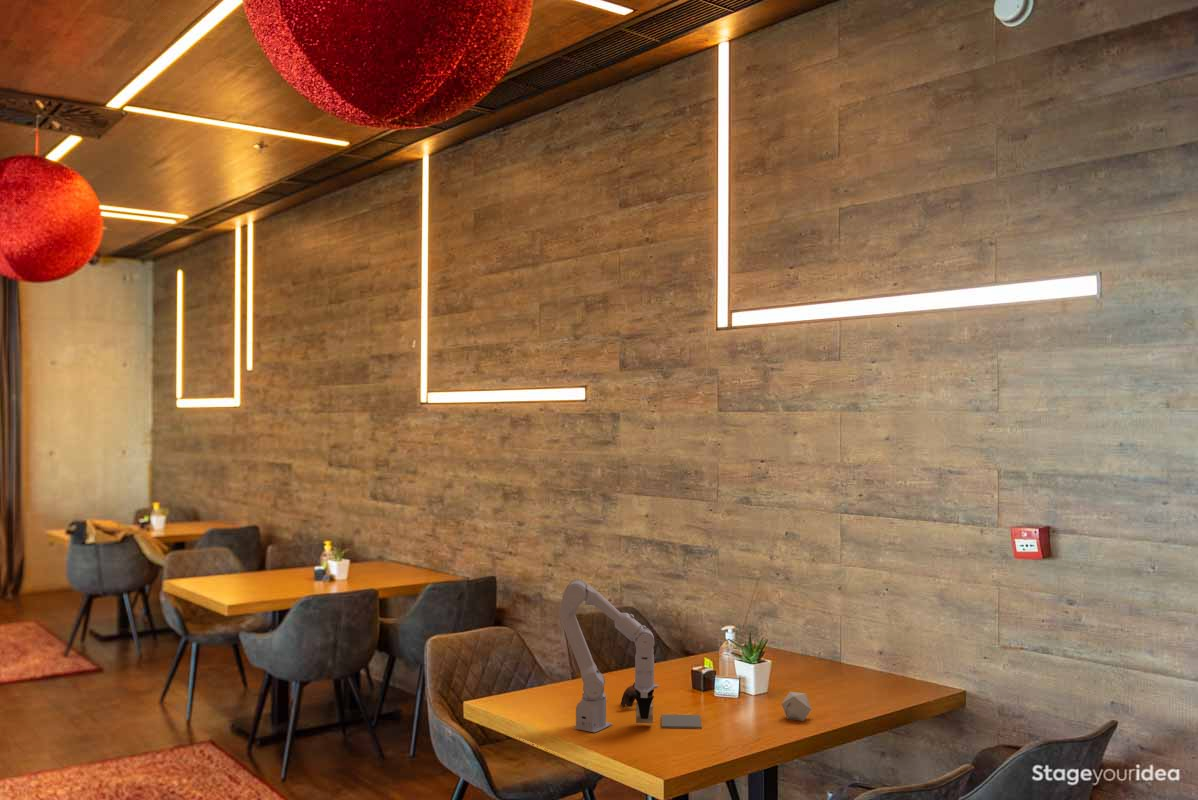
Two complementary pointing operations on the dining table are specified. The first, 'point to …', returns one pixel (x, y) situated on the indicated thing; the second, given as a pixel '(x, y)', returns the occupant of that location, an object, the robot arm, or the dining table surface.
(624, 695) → the dark brown looped arch
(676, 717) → the slate mat
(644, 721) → the cream block
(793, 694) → the die
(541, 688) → the dining table surface
